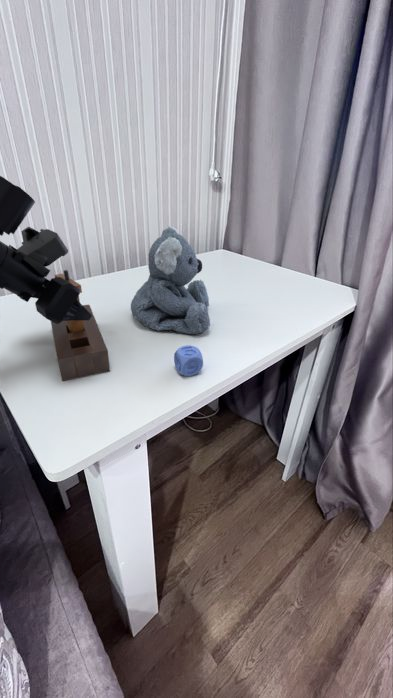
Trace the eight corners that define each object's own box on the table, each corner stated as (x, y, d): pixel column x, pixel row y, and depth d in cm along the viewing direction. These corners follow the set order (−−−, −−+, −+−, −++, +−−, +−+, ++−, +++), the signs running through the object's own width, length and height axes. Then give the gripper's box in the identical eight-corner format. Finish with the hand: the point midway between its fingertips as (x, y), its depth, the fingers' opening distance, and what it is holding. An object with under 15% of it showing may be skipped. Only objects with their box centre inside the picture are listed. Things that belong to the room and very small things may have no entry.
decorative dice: (193, 361, 62) (194, 343, 60) (202, 373, 59) (204, 354, 57) (173, 365, 60) (173, 347, 58) (181, 378, 57) (182, 359, 55)
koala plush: (210, 338, 69) (217, 243, 59) (124, 335, 69) (115, 239, 58) (208, 303, 84) (213, 222, 73) (137, 300, 83) (131, 219, 73)
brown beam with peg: (83, 357, 61) (69, 278, 53) (65, 342, 65) (50, 266, 57) (93, 353, 63) (81, 275, 54) (76, 339, 67) (62, 263, 58)
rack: (62, 381, 55) (56, 359, 53) (53, 329, 70) (48, 309, 67) (110, 371, 58) (107, 349, 56) (92, 323, 73) (89, 304, 70)
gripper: (54, 226, 43) (131, 287, 55) (2, 204, 53) (76, 259, 66) (6, 299, 42) (94, 343, 55) (-38, 261, 53) (45, 306, 65)
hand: (77, 308), depth 60 cm, fingers open, 9 cm apart
